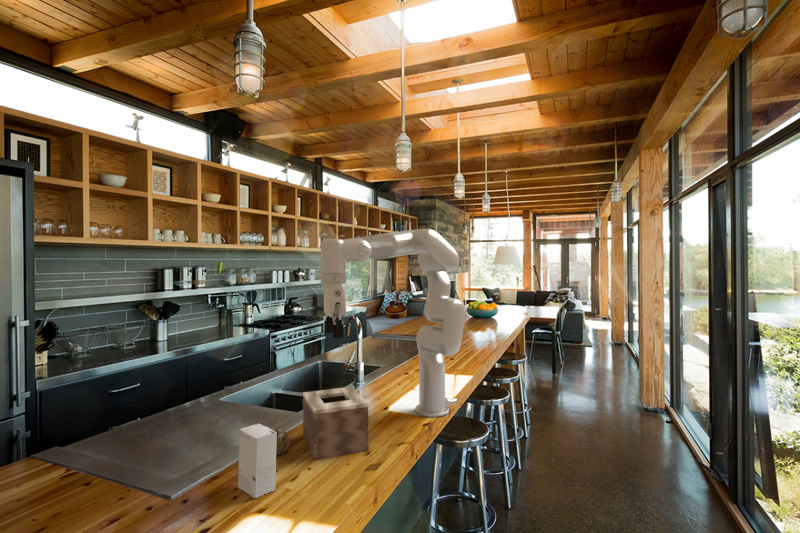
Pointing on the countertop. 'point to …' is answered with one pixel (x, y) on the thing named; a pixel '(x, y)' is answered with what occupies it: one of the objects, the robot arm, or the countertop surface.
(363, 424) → the drop box
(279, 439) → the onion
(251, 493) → the skincare box
